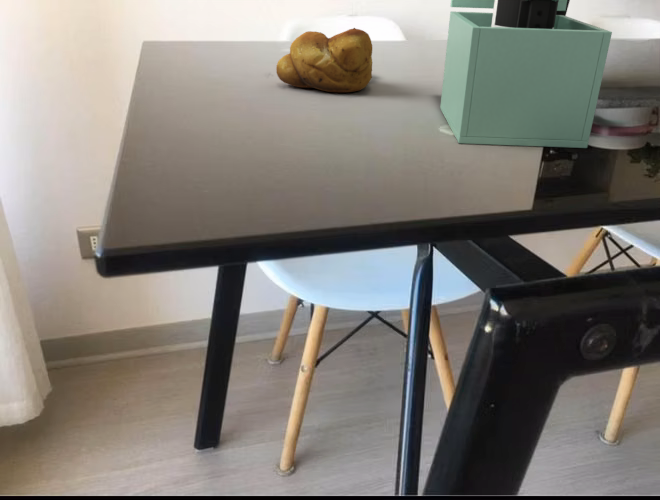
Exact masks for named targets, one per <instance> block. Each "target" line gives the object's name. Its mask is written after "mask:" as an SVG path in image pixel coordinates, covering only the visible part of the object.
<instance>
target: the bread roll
mask: <svg viewBox="0 0 660 500" xmlns="http://www.w3.org/2000/svg"><path fill="white" fill-rule="evenodd" d="M275 69H276V70H275V71H276V75H277V77H278V79H279V80H280V81H281V82H283V83H285V84H287V85H288V86H289V85H290V86H293V87H297V88H303V89H305V88H308V89H310V88H313V89H317V90H319V91H323V92H327V93H354V92H358V91H361V90H363V89H365V88H366V87H367V86H368V84H369V83H370V82H371V80H372V78H373V76H372V75H373V74H372V72H373V43H372V39H371V37H370V35H369V33H367V31H365V30H364V29H363V30H362V29H359V28H355V27H353V28H349V29H347V30H345V31H343V32H339V33H337V34H335V35H333V36H331V37H327V36H326V34H325V33H323V32H319V31H317V30H316V31H311V30H309V31H305V32H303V33H302V34H300V35H299V36H297V37H296V38H295V39H294V40H293V41H292V43H291V44H290V47H289V53H287V54H285V55H284V56H282V57H281V58H280V59H279V60H278V61H277V63H276V68H275Z"/></svg>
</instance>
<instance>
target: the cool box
mask: <svg viewBox="0 0 660 500" xmlns="http://www.w3.org/2000/svg"><path fill="white" fill-rule="evenodd" d="M492 17H493V12H476V11H475V12H474V11H450V13H449V21H448V29H447V30H448V31H447V32H448V33H447V41H446V49H445V50H446V51H445V60H444V69H443V79H442V88H441V98H440V105H439V106H440V107H439V108H440V111H441V113H442V115H443V116H444V118H445V120H446V122H447V124H448V126H449V128H450V129H451V132H452V133H453V135H454V137H455V139H456V141H457V143H458V144H467V145H492V146H495V145H496V146H520V147H521V146H522V147H545V148H572V149H573V148H575V149H588V147H589V142H590V136H591V132H592V127H593V123H594V120H595V119H594V118H595V114H596V109H597V104H598V100H599V96H600V90H601V85H602V81H603V75H604V73H605V72H604V71H605V67H606V62H607V57H608V53H609V48H610V43H611V39H612V35H613V32H612V31H611V30H608V29H604V28H601V27H599V26H596V25H593V24H591V23H587V22H584V21H581V20H578V19H575V18H572V17H569V16H567V15H566V16H564V15H556V19H555V24H554V29H536V28H506V27H491V24H492Z"/></svg>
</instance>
